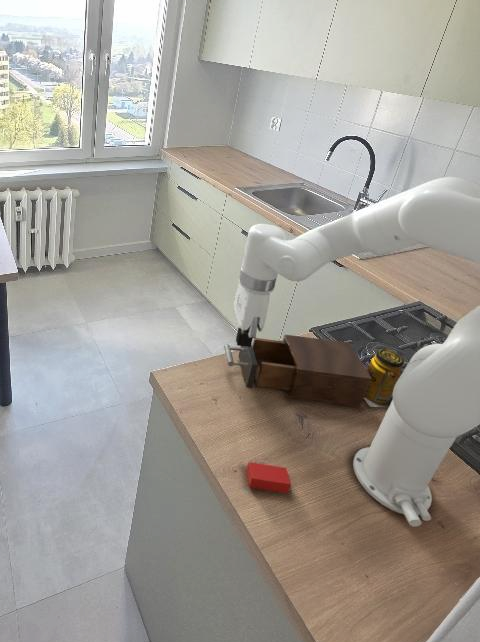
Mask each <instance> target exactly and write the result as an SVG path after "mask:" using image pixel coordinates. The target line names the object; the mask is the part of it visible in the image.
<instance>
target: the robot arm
mask: <svg viewBox="0 0 480 642" xmlns="http://www.w3.org/2000/svg"><path fill="white" fill-rule="evenodd" d="M416 245H422V246H425V247H427V248H430V249H432V250H435V251H438V252H442V253H444V254H447V255H451V256H453V257H454V256H455V257H457V258H460V259H462V260H463V259H464V260H466V261H471V262H474V263H477V264H480V188H479V187H478V186H477V185H475V184H474V183H473V182H472V181H469V180H467V179H465V178H462V177H458V176H445V177H439V178H435V179H433V180H432V179H431V180H429V181H427V182H424V183H422V184H419V185H417V186H414V187H412V188H409V189H407V190H404V191H402V192H399V193H397V194H395V195H393V196H390V197H388V198H385V199H383V200H380V201H378V202H376V203H373V204H370V205H368V206H366V207H363V208H360V209H359V210H356V211H353V212H351V213H350V214H348V215H345V216H343V217H340V218H337V219H335V220H333V221H330V222H327V223H325V224H323V225H320V226H317V227H315V228H313V229H311V230H310V229H309V230H308V231H306V232H304V233H302V234H300V235H298V236H296V237H295V238H293V239H287V235H286V233H285V231H284V230H283V229H282V228H280V227H279V226H276V225H273V224H267V223H257V224H253V225H252V226H251V227H250V228H249V230H248V232H247V237H246V242H245V247H244V252H243V257H242V263H241V267H240V272H239V277H238V286H237V288H236V293H235V298H234V301H233V310H234V314H235V318H236V321H237V324H238V327H237V333H236V337H235V342H236V346H238V347H241V346H246V347H250V346H251V345H252V344H253V340H254V338H257V331H258V332H259V333H261V332H262V331H263V330H264V327H265V324H266V320H267V314H268V308H269V303H270V294H271V293H272V292H274V290H275V288H276V283H277V280H278V275H279V276H281V277H283V278H284V279H286V280H289V281H292V282H302V281H304V280H307V279H308V278H310V277H311V276H312V275H314V274H315V273H317V272H318V271H319V270H320V269H322V268H323V267H324V266H326V265H327V264H330V263H332V262H334V261H337V260H340V259H343V258H346V257H349V256H352V255H356V254H360V253H365V252H367V253H368V252H369V253H371V254H373V255H375V256H384V255H388V254H391V253H395V252H398V251H400V250H404V249H406V248H410V247H413V246H416ZM479 425H480V304H479V305H478V306H476V307H475V308H473V309H472V310H471V311H469V312H468V313H467V314H465V315H464V316H462V317H461V318H460V319H459V320H458V321H457V322H456V323H455V324H454V326H453V328H452V329H451V331H450V332H449V334H448V335H447V337H446V339H445V341H444V342H443V343H432V344H429V345H426V346H423V347H421V348H420V349H419V350H417V351H416V352H415V353H414V354H413V355H412V356H411V358H410V360H409V361H408V363H407V365H406V366H405V368H404V370H403V371H402V373H401V376H400V378H399V379H398V381H397V382H396V384H395V386H394V389H393V400H392V402H391V404H390V406H389V407H387V410H386V411H385V413H384V416H383V419H382V421H381V423H380V425H379V427H378V429H377V431H376V433H375V435H374V438H373V440H372V442H371V444H370V446H369V447H368V446H366V447H362V448H360V449H359V450H358V451H357V452H356V453H355V455H354V457H353V461H352V467H353V471H354V475H355V477H356V479H357V480H358V482H359V483H360V485H361V486H362V487H363V489H364V490H365V491H366V492H367V493H368V494H369V495H370V496H371V497H372V498H373V499H374V500H375V501H377V502H378V503H380V504H381V505H382V506H384V507H386V508H388V509H389V510H391V511H393V512H395V513H397V514H401V515H404V517H405V519H406V521H407V523H408V525H409V526H410V527H413V528H414V527H420V526H421V525H422V523H423V522H422V521H421V519H422V520H423V521H425V522H427V521H430V520H432V517H431V514H430V513H429V509H430V507H431V505H432V501H433V499H432V493H431V489H430V487H429V484H430V482H431V481H432V479H433V478H434V476H435V474H436V472H438V471H437V470H438V469H439V467H440V465H441V464H442V462H443V460H444V459H445V457H446V455H447V454H448V452H449V450H450V448H451V447H452V446H453V444H454V443H455V441H456V440H457V437H459V436H461V435H464V434H466V433H468V432H470V431H471V430H473V429H475V428H476V427H478V426H479ZM420 517H421V519H420Z"/></svg>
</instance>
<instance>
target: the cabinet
mask: <svg viewBox="0 0 480 642" xmlns="http://www.w3.org/2000/svg"><path fill="white" fill-rule="evenodd" d="M282 341H284V342H286V343H287V346H288V348H289V351H290V353H291V356H292V358H293V360H294V363H295V365H296V368H297V371H296V374H295V377H294V380H293V384H292V387H291V390H286V393H287V396H288V398H289V399H290V400H299V401H305V402H313V403H320V404H327V405H335V406H336V405H337V406H342V407H349V408H357V409H360V408H361V406H362V403H363V401H364V400H365V399H364V397H365V394H366V392H367V390H368V387H369V385H370V383H371V380H372V378H371V376H370V375H369V373H368V371H367V368H366V366H365V364H364V363H363V361H362V360H361V358H360V356H359V355H358V352H357V351H356V350H355V349H354V347H353V345H352V344H351V342H350V341H349V342H348V341H341V340H333V339H332V340H331V339H324V338H317V337H309V336H300V335H291V334H284V335H283V338H282Z"/></svg>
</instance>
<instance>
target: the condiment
mask: <svg viewBox="0 0 480 642" xmlns="http://www.w3.org/2000/svg"><path fill="white" fill-rule="evenodd" d="M369 362H370V363H369V364H368V367H367V368H366V370H367V371H368V373H369V375H370V376H371V378H372V380H371V383H370V385H369V387H368V390H367V392H366V394H365V397H364V399H363V400H364V401H365V402H366V403H367V405H368V406H369V407H370V408H389V406H390V404H391V402H392V400H393V389H394V386H395V384H396V382H397V381H398V379H399V378H400V376H401V375H402V373H403V371H402V369H403V366H404V359H403V357H402V356H401V355H400V354H398V353H397V352H395V351H393V350H391V349H388V348H380V349H377V350H376V353H375V355H374V357H372V358H371V360H370V361H369Z"/></svg>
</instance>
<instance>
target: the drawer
mask: <svg viewBox="0 0 480 642" xmlns="http://www.w3.org/2000/svg"><path fill="white" fill-rule="evenodd" d="M223 348H224V349H223V350H224V352H225V353H224V354H225V358H226V362H227V365H228V367H233V366H240V368H241V373H242V377H243V380H244V384H245V388H247V389H252V387H253V383H254V381H255V384H256V387H261V388H263V387H264V388H269V389H277V390H284V391H287V390H291V387H292V384H293V380H294V377H295V374H296V371H297V368H296V365H295V363H294V360H293V358H292V356H291V353H290V351H289V348H288V346H287V343H286V342H284V341H283V340H276V339H268V338H267V339H266V338H259V337H256V338H253V340H252V344H251V346H250V347H246V346H238V347H237V346H230V344H228V343H226V344H224V346H223ZM232 351H236V352H238V360H239V361H236V360H234V358H233V354H232ZM239 351H240V352H239Z"/></svg>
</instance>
